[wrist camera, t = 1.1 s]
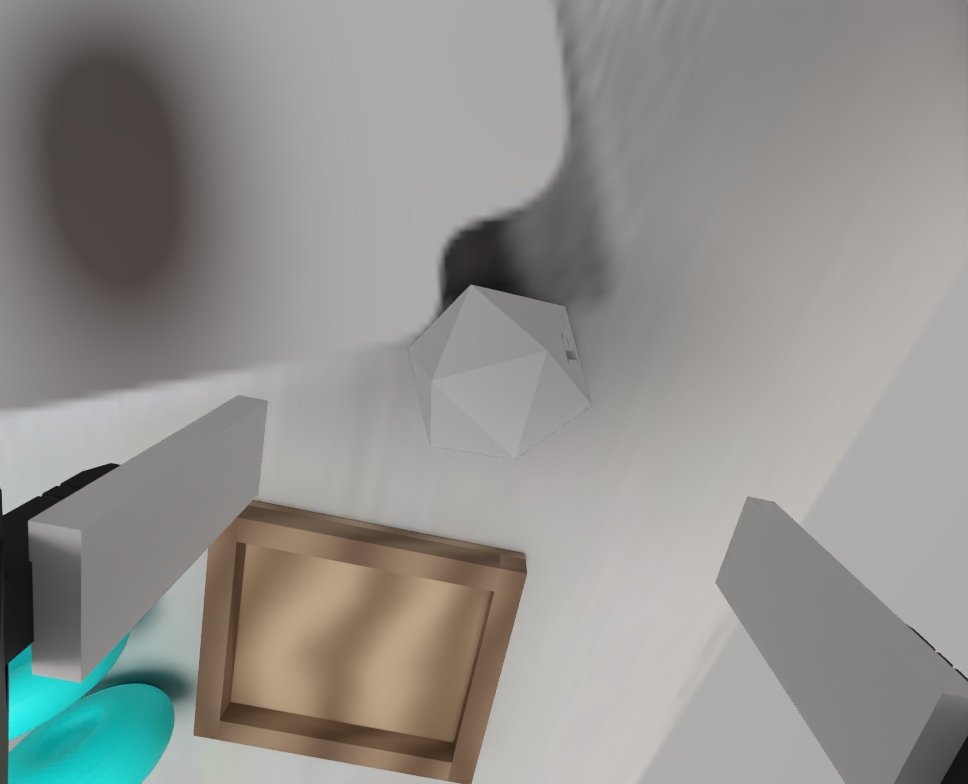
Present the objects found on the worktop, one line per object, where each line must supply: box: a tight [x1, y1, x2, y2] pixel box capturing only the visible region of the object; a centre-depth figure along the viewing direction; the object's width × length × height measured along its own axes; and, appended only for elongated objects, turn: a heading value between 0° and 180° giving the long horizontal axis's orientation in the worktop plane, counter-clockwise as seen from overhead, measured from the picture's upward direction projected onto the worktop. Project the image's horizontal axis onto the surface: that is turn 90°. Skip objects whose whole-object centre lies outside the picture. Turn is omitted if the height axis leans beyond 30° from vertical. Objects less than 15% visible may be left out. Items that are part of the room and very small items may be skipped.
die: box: [408, 285, 592, 459], centre depth 27 cm, size 8×9×10 cm
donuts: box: [8, 631, 175, 784], centre depth 32 cm, size 10×10×10 cm
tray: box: [194, 500, 527, 784], centre depth 35 cm, size 19×17×2 cm
